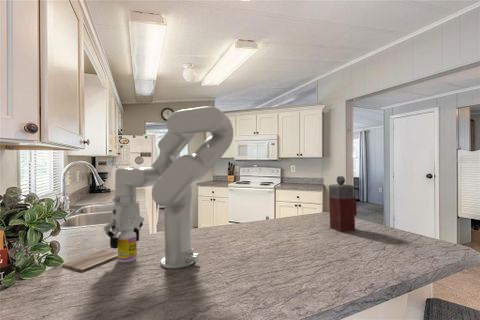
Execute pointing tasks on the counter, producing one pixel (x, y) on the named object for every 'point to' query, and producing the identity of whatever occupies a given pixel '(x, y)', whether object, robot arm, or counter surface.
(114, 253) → the board
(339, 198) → the red canister
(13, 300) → the counter surface
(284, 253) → the counter surface
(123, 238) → the supplement bottle
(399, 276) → the counter surface
